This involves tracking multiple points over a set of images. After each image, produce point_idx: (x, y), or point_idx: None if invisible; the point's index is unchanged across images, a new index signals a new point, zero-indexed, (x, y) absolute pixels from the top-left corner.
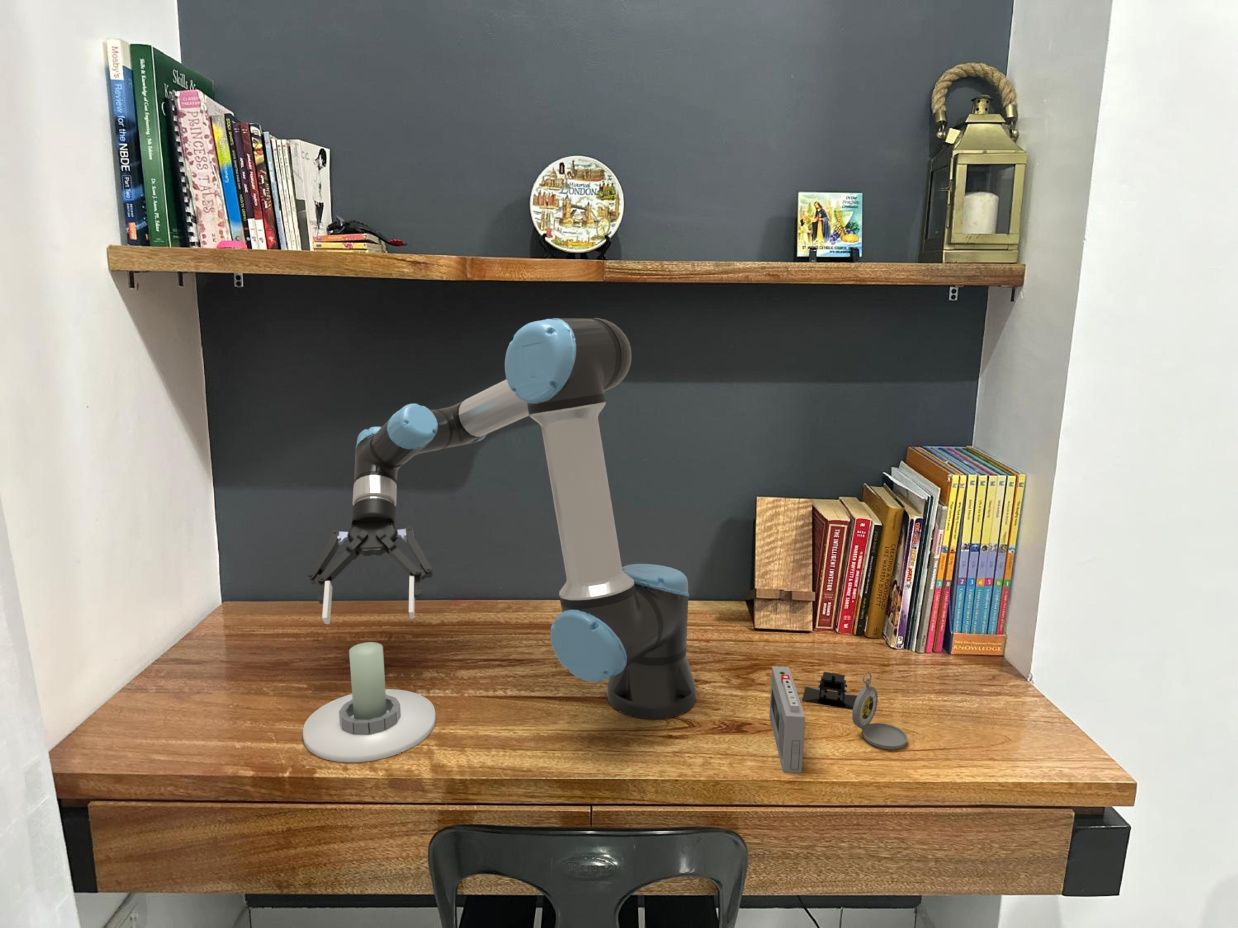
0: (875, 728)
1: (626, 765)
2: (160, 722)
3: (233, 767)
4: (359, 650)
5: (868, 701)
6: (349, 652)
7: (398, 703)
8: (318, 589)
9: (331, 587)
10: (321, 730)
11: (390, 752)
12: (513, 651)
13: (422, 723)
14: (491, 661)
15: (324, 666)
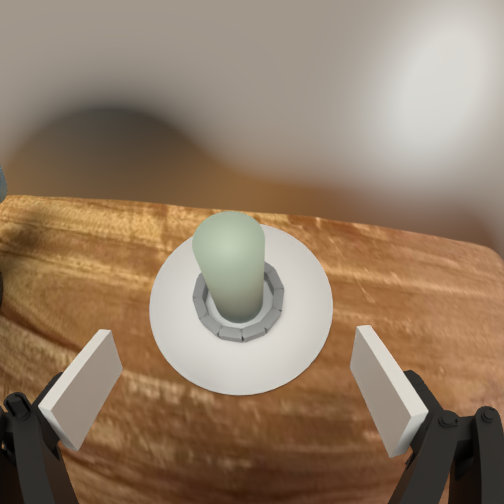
0: None
1: (34, 207)
2: (485, 329)
3: (378, 235)
4: (242, 235)
5: None
6: (262, 229)
7: (194, 301)
8: (431, 395)
9: (392, 439)
10: (303, 280)
11: None
12: None
13: (167, 279)
14: (78, 456)
15: (349, 495)
